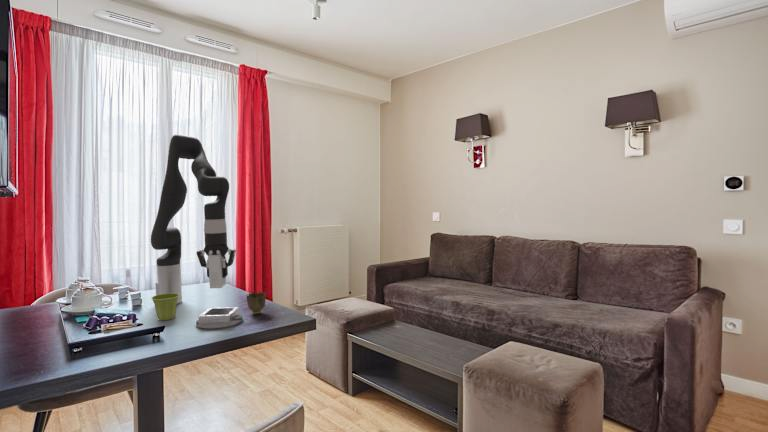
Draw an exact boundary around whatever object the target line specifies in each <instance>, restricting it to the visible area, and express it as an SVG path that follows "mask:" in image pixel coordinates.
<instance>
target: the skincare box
mask: <svg viewBox="0 0 768 432" xmlns="http://www.w3.org/2000/svg"><path fill="white" fill-rule="evenodd" d="M223 258H224V257H223ZM207 259H208V260H209V277H208V280H209V289H222V288H223V287H224V286H225V285H226V284H227V280H226V278H227V277H226V278H223V277H222V268H223V267H222V262H221V255H209V256H208V255H207Z"/></svg>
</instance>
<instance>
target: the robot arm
mask: <svg viewBox="0 0 768 432" xmlns="http://www.w3.org/2000/svg"><path fill="white" fill-rule="evenodd" d="M180 159H185V160H193V161H192V162H191V166H190V169H191V172H192V174H193V176H194V178H196V182H197V191H198V192H199V194H200V195H201V196H204V197H216V200H214V201H212V202H208V203H206V204H204V207H203V211H204V223H203V225H204V226H203V232H204V233H203V234H204V248H203V249H202V250H198V251H196V255H197V259H198V262H199V264H200V267H203V268H206V276H207V278H209V260H208V258H207V260H206V257H205V254H206V256H207V257H208V256H209V255H221V262H222V267H223V268H222V277H223V278H227V277H228V275H229V273H228V271H229V270H228V269H229V267H230V266H232V265H233V264H234V260H235V257H236V252H237V250H236V249H231V248H229V246H228V239H227V238H228V234H227V221H226V203H227V199H228V194H229V191H230V183H229V180H228V179H227V178H226V177H225V176H217V173H216V171H215V169H214V168H213V167H212V165H211V163H209V161H208V157H207V155H206V152H205V150H204V147H203V145H202V143H201V141H200V140H199V139H198V138H197V137H194V136H188V135H182V134H173V135H172V137H171V139H170V143H169V147H168V156H167V164H166V165H167V166H166V171H165V176H164V180H163V185H162V188H161V194H160V200H159V205H158V209H157V215H156V218H155V221H154V225H153V227H152V231H151V235H150V244H151V247H152V249H154V250H156V251H161V250H167V251H166V252H165V253H164V254H162V255H161V256H159V257H157V259H156V277H157V278H156V279H157V282H155V296H156V295H160V294H167V293H177V294H179V296H178V300H177V304H180V303H182V302H183V293H182V273H181V270H182V269H181V257H182V235H181V231H180V229H179V228H177V227H175V226H174V227H168V225H169V224H170V222H171V221H172V219H173V218H174V217H175V215H177V214H178V212H180V210H181V209H182V207H183V206H184V205H185V201H186V197H187V192H188V188H187V183H186V181H185V180H184V178H183V176H182V173H181V172H180V171H181V170H180V168H179V167H180V166H179V161H180ZM227 253H228V255H229V256H228V260H227V257H226V254H227ZM223 257H224V258H223ZM177 304H176V305H177Z"/></svg>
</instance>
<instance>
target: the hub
mask: <svg viewBox="0 0 768 432" xmlns="http://www.w3.org/2000/svg"><path fill="white" fill-rule="evenodd" d="M243 320H244V319H243V315H241V314H240V307H239V306H233V307H232V306H231V307H229V306H227V307H209V308H208V309H207V310H205V311H204V312H202V313H201V314H200V315H199V316H198V320H196V321H195V327H196V329H198V330H205V331H216V330H223V329H229V328H232V327H236V326H238V325H240V324H241V323H242V322H243Z"/></svg>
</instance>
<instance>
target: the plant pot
mask: <svg viewBox="0 0 768 432" xmlns="http://www.w3.org/2000/svg"><path fill="white" fill-rule="evenodd" d="M178 296H179V294H177V293H167V294H160V295H156V294H155V295H153V296H152V297H151V300H152V301H153V303H154V308H155V314H156V318H158V319H159V320H158V319H157V320H158V321H162V320H163V321H169V320H172V319H174V318H176V314H177V313H176V312H177V300H178Z"/></svg>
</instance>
